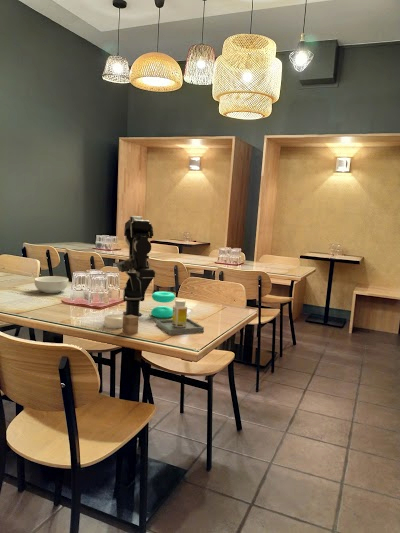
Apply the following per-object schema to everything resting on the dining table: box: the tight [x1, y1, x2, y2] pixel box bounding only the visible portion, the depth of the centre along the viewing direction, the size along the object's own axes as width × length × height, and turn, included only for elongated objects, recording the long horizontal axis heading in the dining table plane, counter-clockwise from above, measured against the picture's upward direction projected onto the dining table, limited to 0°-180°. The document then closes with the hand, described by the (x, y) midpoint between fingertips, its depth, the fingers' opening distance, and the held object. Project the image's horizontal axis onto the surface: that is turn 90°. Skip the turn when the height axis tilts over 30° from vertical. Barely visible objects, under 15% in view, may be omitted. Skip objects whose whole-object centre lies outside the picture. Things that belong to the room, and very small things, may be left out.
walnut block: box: [121, 315, 139, 335], centre depth 152 cm, size 4×4×6 cm
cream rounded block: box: [103, 314, 124, 329], centre depth 159 cm, size 8×8×4 cm
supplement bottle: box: [171, 299, 188, 328], centre depth 160 cm, size 6×6×10 cm
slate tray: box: [155, 317, 205, 336], centre depth 161 cm, size 14×14×2 cm
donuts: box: [150, 291, 176, 319], centre depth 179 cm, size 10×10×10 cm
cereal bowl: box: [34, 275, 69, 294], centre depth 214 cm, size 17×17×7 cm
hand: (138, 292), depth 160 cm, fingers open, 9 cm apart
